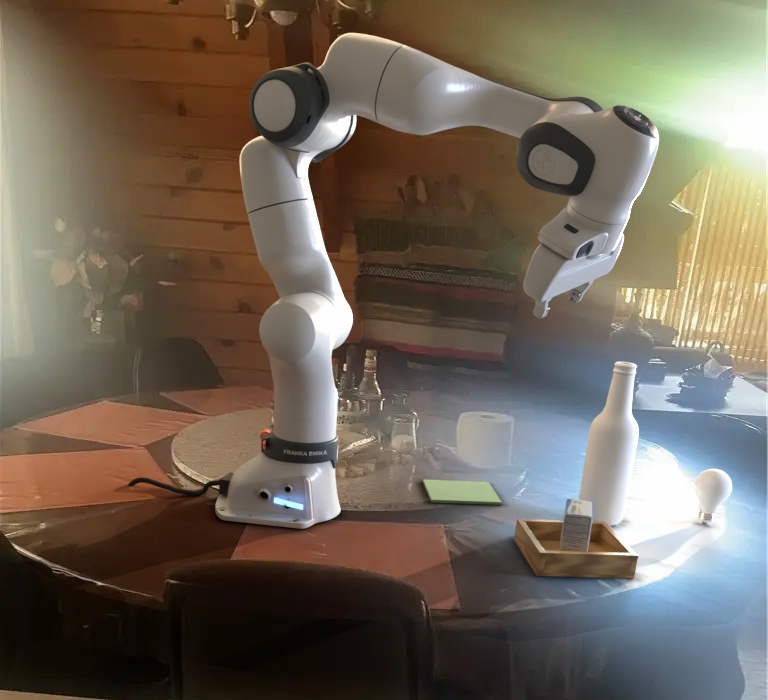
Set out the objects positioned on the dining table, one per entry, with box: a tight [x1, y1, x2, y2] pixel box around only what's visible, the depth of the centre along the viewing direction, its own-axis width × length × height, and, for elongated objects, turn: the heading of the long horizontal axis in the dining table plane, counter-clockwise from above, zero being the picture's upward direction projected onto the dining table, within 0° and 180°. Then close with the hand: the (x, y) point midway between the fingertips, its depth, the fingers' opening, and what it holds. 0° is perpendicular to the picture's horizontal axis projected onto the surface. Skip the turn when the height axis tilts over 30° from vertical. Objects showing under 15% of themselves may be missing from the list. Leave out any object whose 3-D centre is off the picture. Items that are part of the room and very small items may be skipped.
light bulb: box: [694, 468, 733, 525], centre depth 145 cm, size 7×7×11 cm
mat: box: [422, 479, 503, 506], centre depth 153 cm, size 14×12×1 cm
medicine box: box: [560, 498, 593, 552], centre depth 125 cm, size 8×4×9 cm, turn 165°
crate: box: [513, 518, 639, 579], centre depth 126 cm, size 16×14×4 cm
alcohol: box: [577, 361, 640, 527], centre depth 141 cm, size 9×9×30 cm
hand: (556, 307), depth 120 cm, fingers open, 8 cm apart
